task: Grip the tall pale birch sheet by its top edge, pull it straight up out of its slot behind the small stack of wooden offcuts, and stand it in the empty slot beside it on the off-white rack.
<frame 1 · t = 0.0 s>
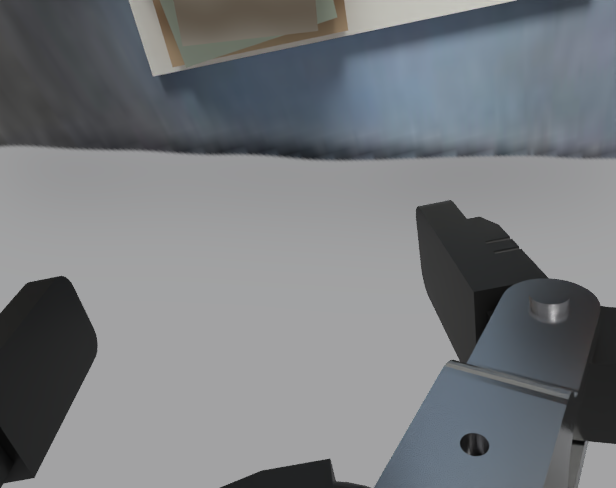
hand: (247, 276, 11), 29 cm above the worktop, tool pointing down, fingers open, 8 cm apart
offcut ash: (247, 0, 30), point 5 cm above the worktop, touching offcut sage
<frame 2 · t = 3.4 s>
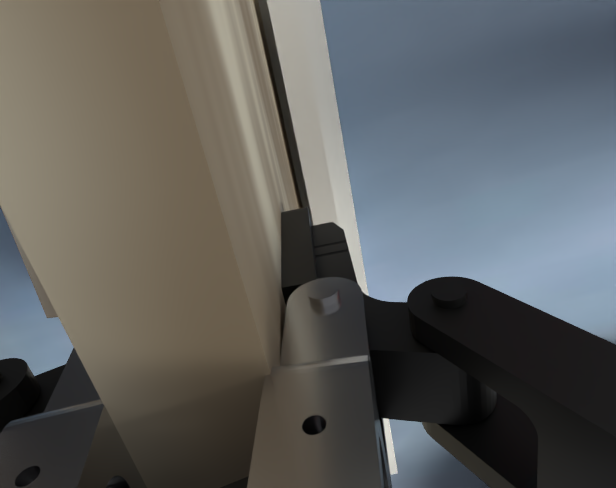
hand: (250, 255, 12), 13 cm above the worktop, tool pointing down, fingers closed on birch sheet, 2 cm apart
rack: (253, 277, 28), on the worktop
birch sheet: (264, 135, 23), point 2 cm above the worktop, touching gripper, rack
offcut ash: (84, 198, 19), point 5 cm above the worktop, touching offcut sage
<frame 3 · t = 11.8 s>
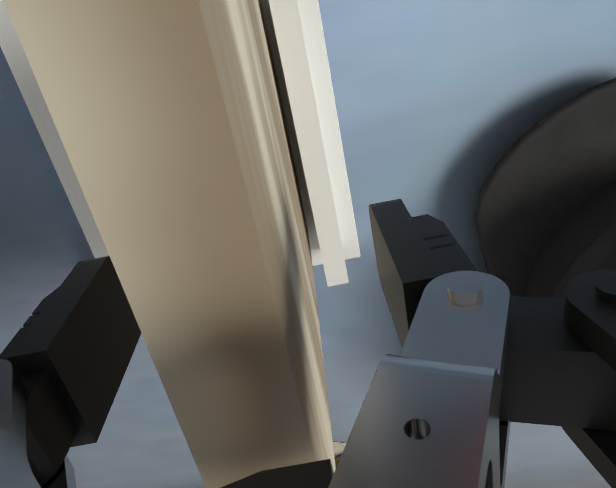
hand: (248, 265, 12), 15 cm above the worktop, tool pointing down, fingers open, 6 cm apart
birch sheet: (265, 126, 24), point 1 cm above the worktop, touching rack
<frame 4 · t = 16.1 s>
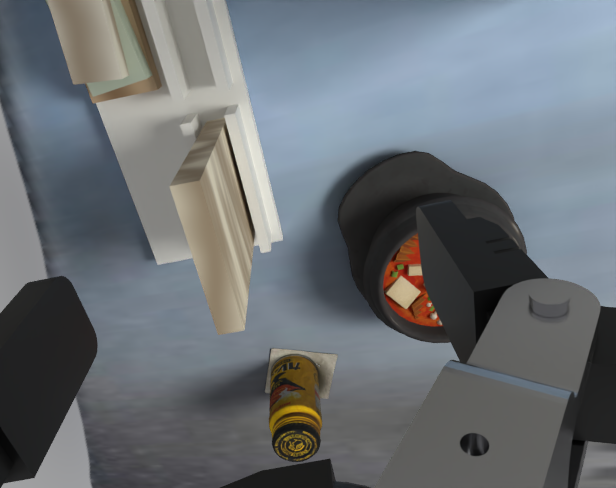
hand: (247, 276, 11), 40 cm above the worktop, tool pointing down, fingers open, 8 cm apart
rack: (187, 101, 48), on the worktop
condiment: (300, 371, 65), on the worktop
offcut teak: (106, 23, 44), point 1 cm above the worktop, touching offcut sage, rack
birch sheet: (232, 177, 51), point 1 cm above the worktop, touching rack
offcut sage: (99, 25, 42), point 3 cm above the worktop, touching offcut ash, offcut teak
casserole: (428, 244, 57), on the worktop
offcut ash: (91, 26, 40), point 5 cm above the worktop, touching offcut sage
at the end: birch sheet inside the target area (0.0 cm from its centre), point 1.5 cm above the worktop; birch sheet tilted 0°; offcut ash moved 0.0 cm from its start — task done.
